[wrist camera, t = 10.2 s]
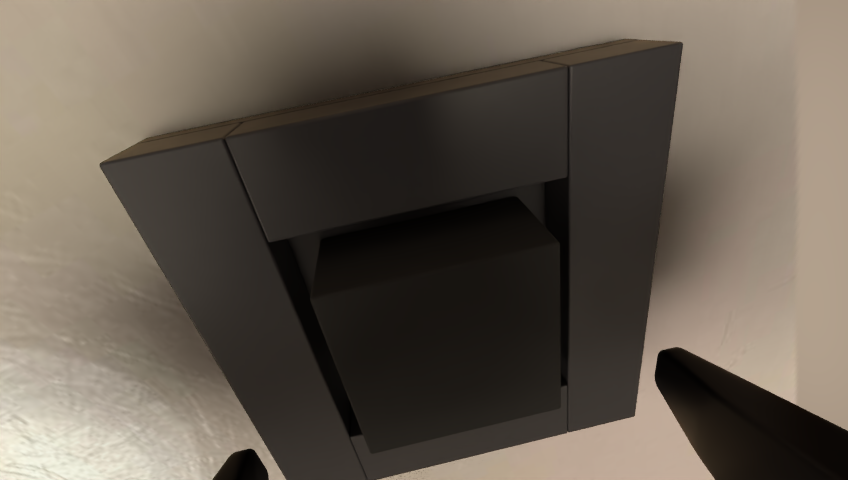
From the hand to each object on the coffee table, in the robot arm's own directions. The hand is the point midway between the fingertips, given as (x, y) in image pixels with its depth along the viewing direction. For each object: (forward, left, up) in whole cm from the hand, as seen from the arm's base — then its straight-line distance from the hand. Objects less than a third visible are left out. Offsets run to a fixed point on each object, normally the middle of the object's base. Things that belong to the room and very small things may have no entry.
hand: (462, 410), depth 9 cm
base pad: (0, 0, -5) cm, 5 cm away
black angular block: (0, 0, -4) cm, 4 cm away
